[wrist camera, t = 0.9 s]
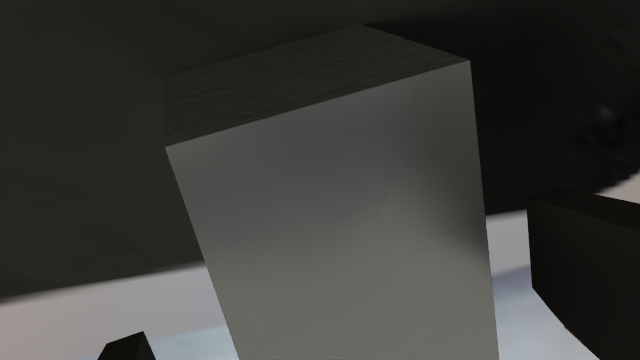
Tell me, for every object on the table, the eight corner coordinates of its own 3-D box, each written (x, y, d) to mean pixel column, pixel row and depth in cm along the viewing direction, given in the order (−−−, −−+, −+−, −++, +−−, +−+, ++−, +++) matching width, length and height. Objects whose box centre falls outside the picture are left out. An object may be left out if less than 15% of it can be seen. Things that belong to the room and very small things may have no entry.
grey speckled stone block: (359, 23, 13) (469, 59, 8) (409, 306, 16) (507, 442, 12) (161, 76, 12) (165, 146, 8) (256, 360, 15) (298, 528, 11)
